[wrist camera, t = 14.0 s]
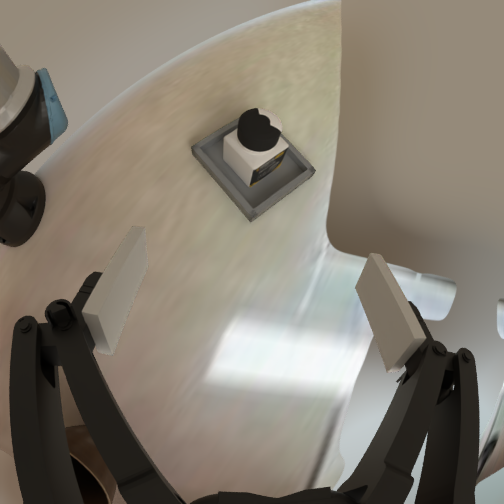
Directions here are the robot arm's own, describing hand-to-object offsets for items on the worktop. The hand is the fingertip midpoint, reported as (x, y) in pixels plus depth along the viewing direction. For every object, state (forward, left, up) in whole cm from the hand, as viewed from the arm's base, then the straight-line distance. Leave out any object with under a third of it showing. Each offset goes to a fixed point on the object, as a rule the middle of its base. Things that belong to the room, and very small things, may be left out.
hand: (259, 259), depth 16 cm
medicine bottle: (-14, +15, -27) cm, 34 cm away
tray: (-14, +15, -28) cm, 35 cm away
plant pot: (+7, -38, -28) cm, 47 cm away
